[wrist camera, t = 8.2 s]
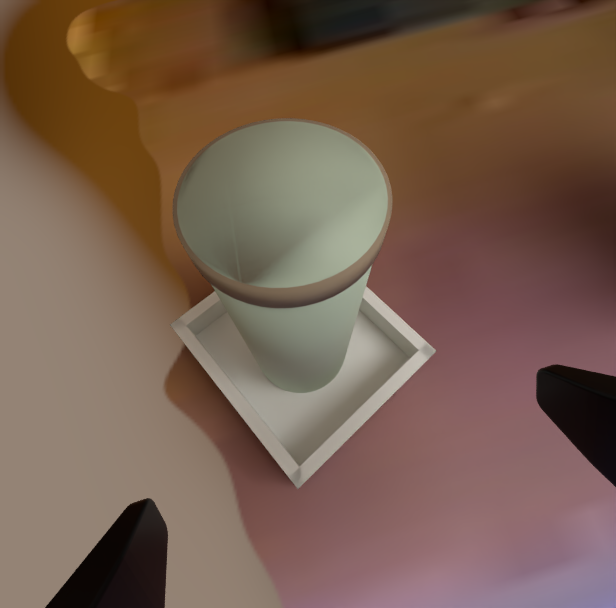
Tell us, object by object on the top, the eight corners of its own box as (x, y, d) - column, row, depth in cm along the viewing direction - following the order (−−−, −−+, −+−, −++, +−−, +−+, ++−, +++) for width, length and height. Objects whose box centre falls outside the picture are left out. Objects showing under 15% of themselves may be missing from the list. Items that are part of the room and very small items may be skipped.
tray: (299, 485, 17) (297, 489, 15) (184, 338, 20) (169, 324, 18) (423, 362, 19) (436, 351, 17) (302, 248, 22) (301, 226, 20)
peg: (314, 414, 18) (314, 338, 7) (236, 361, 19) (125, 221, 8) (364, 334, 19) (430, 168, 8) (289, 290, 20) (259, 94, 9)
